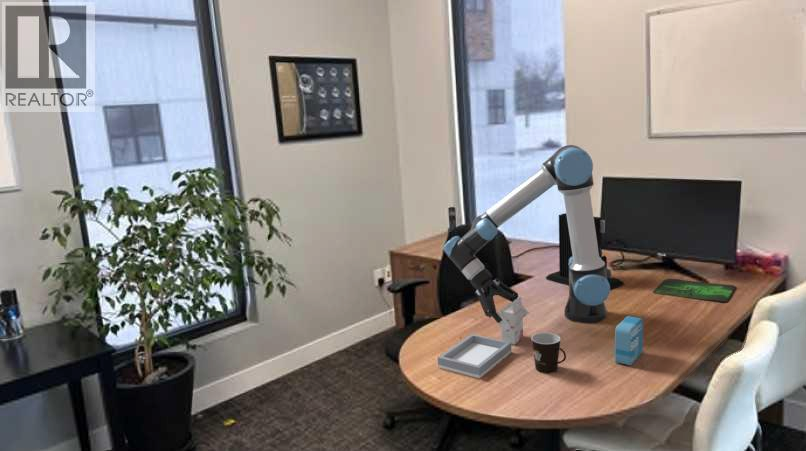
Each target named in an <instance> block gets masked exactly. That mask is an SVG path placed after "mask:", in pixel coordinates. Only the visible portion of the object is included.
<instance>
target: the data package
mask: <svg viewBox="0 0 806 451" xmlns="http://www.w3.org/2000/svg"><path fill="white" fill-rule="evenodd" d="M643 336H644V320H643V318H640V317H635V316H629V315H627V316H626V317H625V318H624V319H623V320H621V321H620V322H619V323H618V324H617V325H616V326H615V329H614V361H615V363H617V364H622V365H627V366H632V365H633V364H634V363H635V361H636V360H637V359H639V357H640V356H641V355H642V353H643V348H644V346H643V343H644V342H643V340H644V337H643Z"/></svg>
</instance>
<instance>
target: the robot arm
mask: <svg viewBox="0 0 806 451" xmlns="http://www.w3.org/2000/svg"><path fill="white" fill-rule="evenodd" d="M593 168H594V163H593V160H592V158H591V156H590V154H589V153H588V152H587V151H585V150H584V149H582V148H581V147H579V146H577V145H573V144H569V145H568V144H567V145H565V146H562V147H560V148H558V150H557V151H556V152H554V153H553V154H552V155H551V156H550V157H549V158H548V159H547V160H545V161H544V162H543V163H541V168H539V169H538V170H537V171H536V172H535V173H534V174H532V175H531V176H529V177H527V179H526V180H524V181H523V182H522V183H520V184H519V185H518V186H517V187H515V188H514V189H513V190H511V191H510V192H509V193H508V194H506V195H505V196H504V197H502V198H501V199H500V200H499V201H497V202H496V203H495V204H493V205H491V207H490V208H488V209H487V210H486V211H484V212H483V213H482V214H481V215H477V216H476V217H475V218H474V219H473V221H472V222H471V227H470V229H469V230H468V231H467V232H466V233H465V234H464V235H463V236H462V237H460V236H459V235H455V236H453V237H451V238H450V239H449V240H448V241H447V242H446V243H445V244H444V245H443V251H444V253H445V254H446V255H447V257H448V258H449V259H450V260H451V261H452V262H453V263H454V265H455V266H456V267H457V269H458V270H459V271H460V272H461V273H462V274H463V276H464V277H465V278H466V280H468V281H470V282H469V283H470V284H471V285H472V287H473V288H474V289H475V290H476V291H475V292H474V294H475V296H476V297H477V298H478V300H479V303H480V305H481V306H480V307H481V308H482V311H483V312H484V315H485V316H486V317H488V318H493V319H494V321H496V323H497V324H498V325H499V326H500V327H502V328H503V329H504V331H506V330H508V329H509V328H510V327H511V325H510V324H509V323H508V322H507V321H506V319H505V318H504V317H503V316H502V315H501V313H500V311H499V310H498V311H497V309H496V305H495V299H494V297H495V296H499V297H501V298H504V299H505V300H507V301H509V302H510V303H514V302H515V301H516V300H517V299H518V298H519V297H520V296H519V293H518V292H517V291H515V290H514V289H512V288H511V287H509V286H508V285H506V284H505V283H504V282H502V280H500V279H499V277H496V278H495V279H494V280H493V279H492V278H493V275H492V274H491V272H490V271H489V270H488V269H487V268H485V265H484V264H483V262H482V261H480V259H479V258H478V257H477V256H476V254H477V253H478V252H479V251H480V250H481V249H482V248H483V247H485V246H486V245H487V244H488V243H489V242H490V241H492V240H493V239H494V237H495V236H497V234H498V232H499V231H498V228H500V227H502V225H503V224H505V223H506V222H507V221H509V220H510V219H511V218H512V217H515V215H517V214H518V213H519V212H521V211H522V210H524V208H526V207H527V206H528V205H530V204H532V202H534V201H535V200H537V198H539V197H540V196H541V195H543V194H544V193H546V192H547V191H548V190H550V189H551V188H552V187H554V186H556V187H557V191H558V192H560V193H561V194H562V195H563V201H564V208H565V213H566V215H567V222H568V228H569V235H570V241H571V248H572V255H573V256H572V257H570V259H569V264H568V265H569V285H568V290H569V291H568V294H569V295H568V298H567V301H566V303H565V307H564V317H565V318H566V319H568V320H570V321H573V322H577V323H582V324H584V323H589V324H592V323H599V322H602V321H604V320H606V319H607V318H608V311H607V310H608V309H607V307H606V305H605V302H606V300H607V299H608V298H609V296H610V295H611V294H610V293H611V290H610V284H609V282H608V281H607V275H606V268H605V262H604V261H603V260H602V259H601V257H599V252H598V245H597V238H596V231H595V224H594V217H595V216H594V211H593V205H592V204H593V203H592V196H591V189H592V188H593V186H594V185H595V183H594V176H593V170H594V169H593ZM593 216H594V217H593ZM517 304H518V303H517ZM522 314H523V319H524V318H525V317H527V315H529V314H530V312H529V311H528V310H527V309H526V308H525V306H524V305H523V304H522Z"/></svg>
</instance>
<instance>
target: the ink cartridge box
mask: <svg viewBox="0 0 806 451" xmlns="http://www.w3.org/2000/svg"><path fill="white" fill-rule="evenodd" d="M517 303H518V304H517ZM522 305H523V301H522V296H519V297H518V298H517V300H516V301H515V302H514V303H512V302H509V303H508V304H507V305H505V306H504V307H503V308H502V309H500V311H499V312H500V313H501V315H502V316H503V317H504V318H505V319H506V321H507V322H508V323H509V324H510V325H511V327H510V328H509V329H508V330H506V331H504V329H503V328H502V327H501V326H500V327H501V328H500V330H501V331H500V332H501V340H503V341H507V342H511V345H514V346H515V345H516V344H517V343H518V342H519V341H520V340H521V338H522V337H523V336H524V318H523V314H522Z"/></svg>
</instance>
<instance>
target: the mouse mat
mask: <svg viewBox="0 0 806 451" xmlns="http://www.w3.org/2000/svg"><path fill="white" fill-rule="evenodd" d="M736 288H737V287H736V285H733V284H732V285H731V284H722V283H721V284H720V283H712V282H702V281H695V280H694V281H693V280H692V281H691V280H685V279H678V278H666V279H664V280H663V281H662V282H661V283H660V284H659V285H658V286H657V287H656V288H655V289H654V290H653V292H652V293H653V294H657V295H662V296H668V297H670V296H671V297H677V298H685V299H692V300H698V301H699V300H700V301H705V302H706V301H707V302H716V303H722V304H723V303H725V304H726V303H728V302H729V301H730V298H732V295H733V294H734V292H735V290H736Z"/></svg>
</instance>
